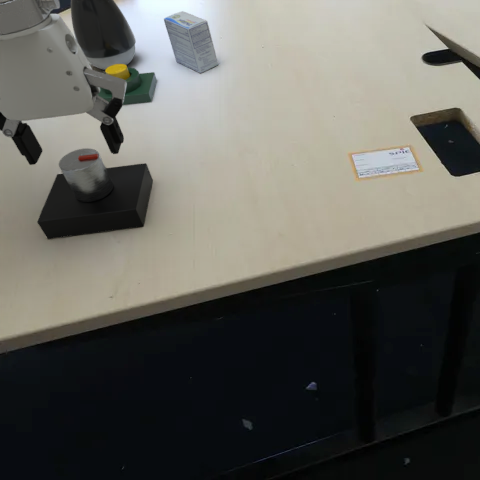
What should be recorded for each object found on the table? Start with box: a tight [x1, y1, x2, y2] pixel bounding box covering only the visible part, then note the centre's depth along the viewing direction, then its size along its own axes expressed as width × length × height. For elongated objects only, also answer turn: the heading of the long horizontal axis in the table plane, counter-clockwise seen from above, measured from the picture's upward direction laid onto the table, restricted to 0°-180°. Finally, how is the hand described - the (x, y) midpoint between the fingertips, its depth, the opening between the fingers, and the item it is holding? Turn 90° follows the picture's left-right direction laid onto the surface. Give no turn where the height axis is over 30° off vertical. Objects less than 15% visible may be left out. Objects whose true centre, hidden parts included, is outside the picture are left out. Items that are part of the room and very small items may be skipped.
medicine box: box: [163, 10, 219, 74], centre depth 99 cm, size 8×4×9 cm, turn 48°
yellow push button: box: [104, 64, 130, 80], centre depth 92 cm, size 4×4×2 cm
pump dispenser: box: [70, 0, 136, 71], centre depth 98 cm, size 10×10×15 cm
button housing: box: [97, 66, 158, 106], centre depth 93 cm, size 10×8×4 cm
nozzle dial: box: [58, 147, 113, 202], centre depth 68 cm, size 5×5×5 cm
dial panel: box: [36, 162, 154, 240], centre depth 71 cm, size 12×10×3 cm
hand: (77, 153), depth 66 cm, fingers open, 9 cm apart
